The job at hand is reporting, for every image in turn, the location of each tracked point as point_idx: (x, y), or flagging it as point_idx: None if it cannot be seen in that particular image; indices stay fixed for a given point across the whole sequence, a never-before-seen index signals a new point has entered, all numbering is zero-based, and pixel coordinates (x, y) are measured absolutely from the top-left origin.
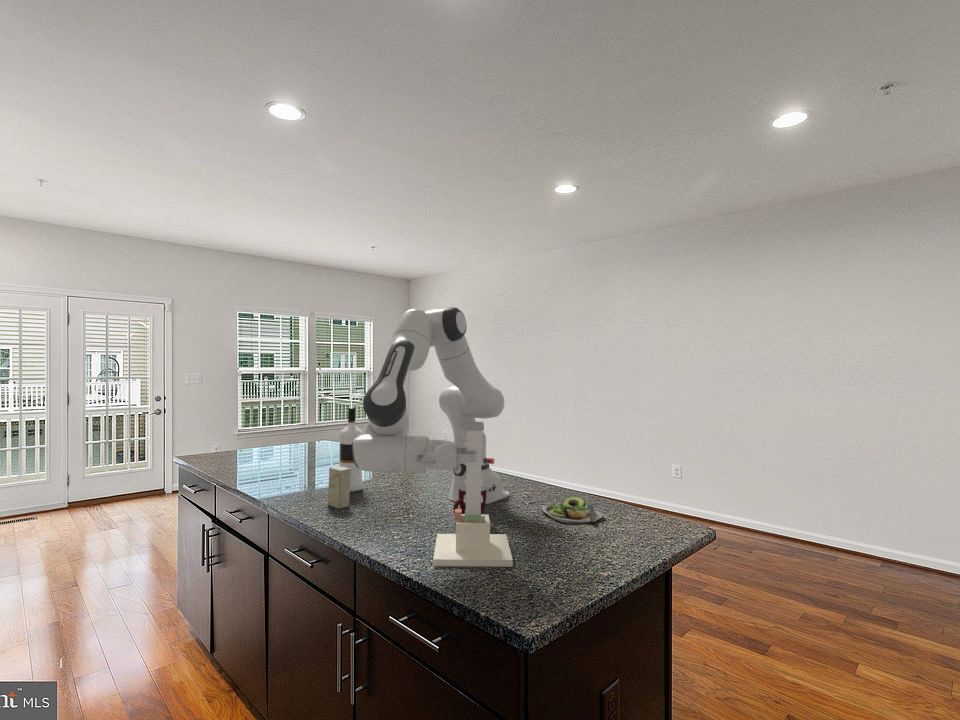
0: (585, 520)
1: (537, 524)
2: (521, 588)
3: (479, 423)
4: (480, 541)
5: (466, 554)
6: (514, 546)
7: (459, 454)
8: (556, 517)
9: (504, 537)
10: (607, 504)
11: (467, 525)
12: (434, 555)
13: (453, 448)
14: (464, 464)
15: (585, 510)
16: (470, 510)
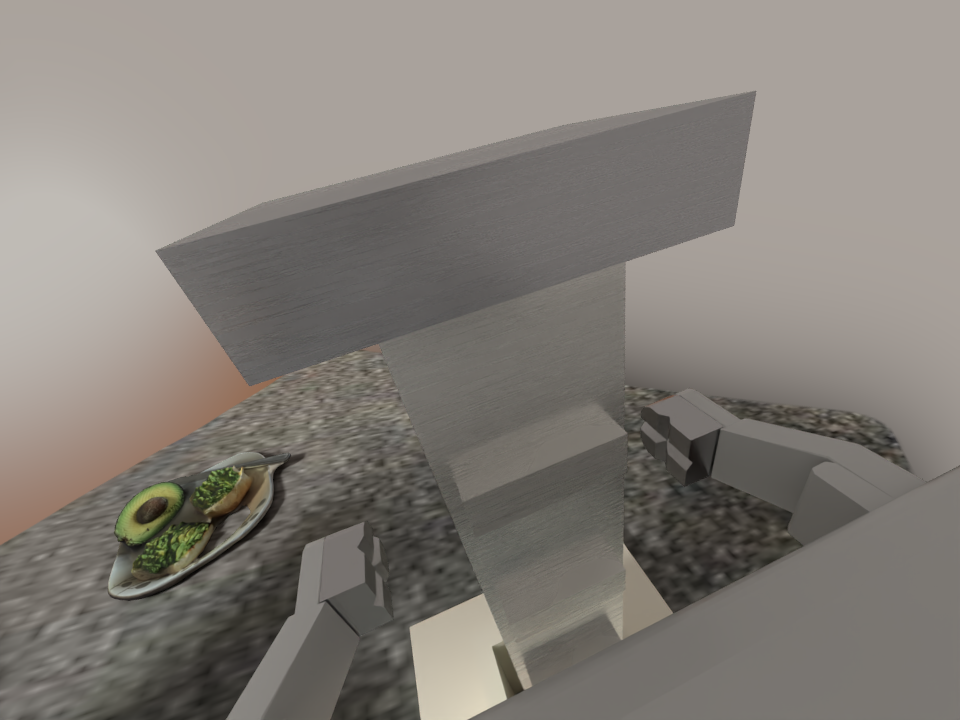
0: (270, 474)
1: (261, 583)
2: (719, 485)
3: (484, 147)
4: None
5: None
6: (465, 588)
7: (867, 470)
8: (242, 532)
9: (442, 622)
10: (142, 471)
11: None
12: None
13: (795, 625)
14: (623, 587)
15: (233, 471)
16: None
